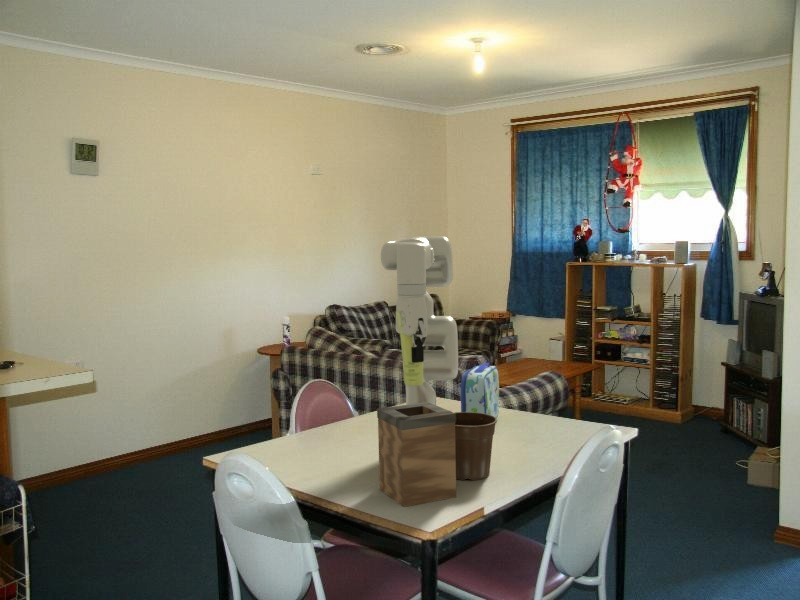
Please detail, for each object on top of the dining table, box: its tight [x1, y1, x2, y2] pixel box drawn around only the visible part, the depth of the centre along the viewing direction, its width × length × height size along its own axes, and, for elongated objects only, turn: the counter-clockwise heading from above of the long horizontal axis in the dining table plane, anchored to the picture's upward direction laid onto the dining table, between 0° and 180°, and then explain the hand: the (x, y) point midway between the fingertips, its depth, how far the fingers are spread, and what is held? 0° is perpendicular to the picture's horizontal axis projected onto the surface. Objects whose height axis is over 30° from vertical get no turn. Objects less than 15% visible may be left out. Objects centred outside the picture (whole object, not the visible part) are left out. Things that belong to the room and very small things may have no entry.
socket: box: [376, 402, 457, 508], centre depth 194 cm, size 15×15×22 cm
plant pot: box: [454, 411, 498, 481], centre depth 209 cm, size 16×16×16 cm
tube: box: [397, 311, 423, 386], centre depth 192 cm, size 6×5×20 cm
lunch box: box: [459, 363, 500, 419], centre depth 265 cm, size 26×11×21 cm, turn 162°
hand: (412, 359), depth 192 cm, fingers closed on tube, 4 cm apart
